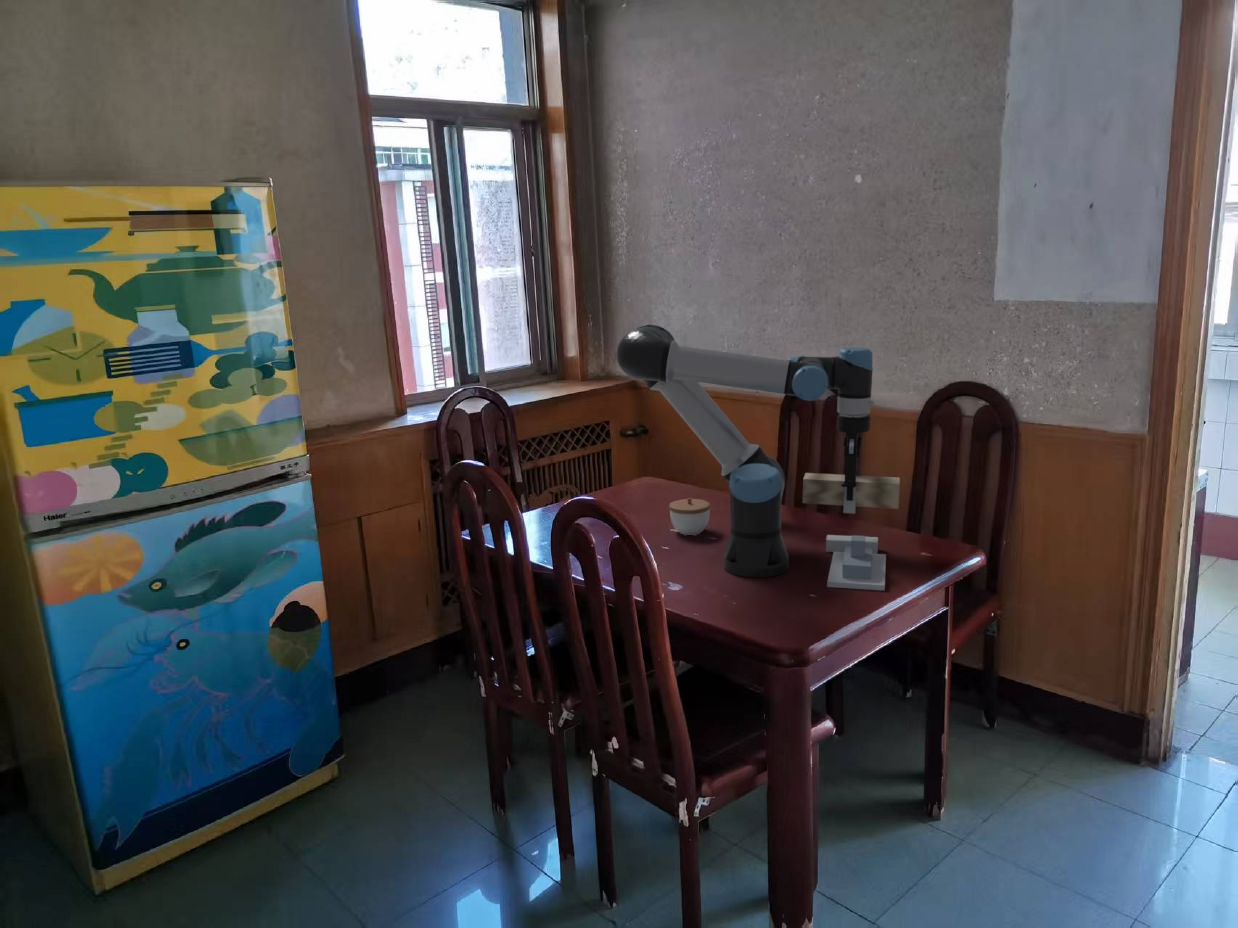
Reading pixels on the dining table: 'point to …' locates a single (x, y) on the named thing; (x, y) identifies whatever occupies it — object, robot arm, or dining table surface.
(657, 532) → the dining table surface
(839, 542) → the slab
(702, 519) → the lidded jar
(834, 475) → the pine batten
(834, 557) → the fulcrum stand
